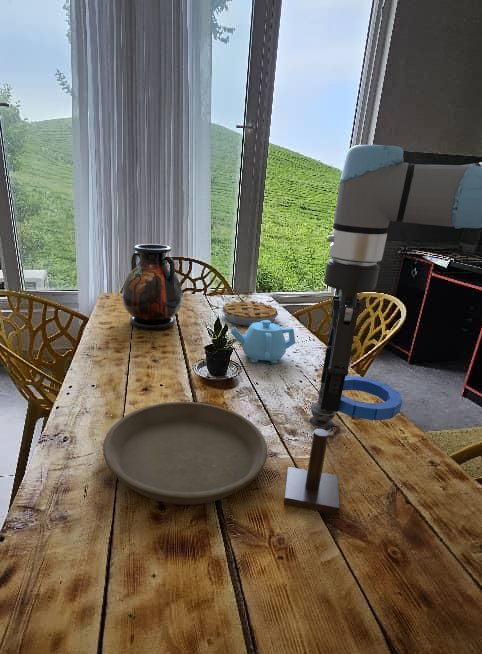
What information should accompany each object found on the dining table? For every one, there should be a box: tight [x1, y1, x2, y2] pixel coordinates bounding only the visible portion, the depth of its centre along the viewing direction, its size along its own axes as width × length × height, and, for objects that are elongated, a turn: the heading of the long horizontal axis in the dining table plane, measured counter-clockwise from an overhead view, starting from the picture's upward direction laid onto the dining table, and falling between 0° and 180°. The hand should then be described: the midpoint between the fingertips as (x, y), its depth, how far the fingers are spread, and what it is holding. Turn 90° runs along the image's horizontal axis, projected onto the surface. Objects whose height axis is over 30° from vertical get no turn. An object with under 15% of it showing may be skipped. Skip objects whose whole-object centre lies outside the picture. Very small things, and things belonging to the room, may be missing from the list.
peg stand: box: [283, 428, 341, 516], centre depth 76 cm, size 9×9×12 cm
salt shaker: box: [309, 382, 338, 430], centre depth 99 cm, size 6×6×12 cm
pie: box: [221, 300, 279, 327], centre depth 173 cm, size 22×22×5 cm
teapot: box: [229, 320, 296, 364], centre depth 135 cm, size 20×17×12 cm
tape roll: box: [338, 374, 403, 421], centre depth 73 cm, size 12×12×2 cm
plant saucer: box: [102, 401, 268, 506], centre depth 85 cm, size 31×31×5 cm
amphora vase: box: [121, 243, 183, 331], centre depth 157 cm, size 22×22×28 cm
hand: (328, 395), depth 74 cm, fingers closed on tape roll, 9 cm apart
